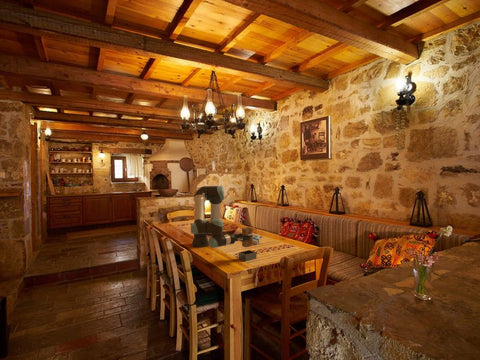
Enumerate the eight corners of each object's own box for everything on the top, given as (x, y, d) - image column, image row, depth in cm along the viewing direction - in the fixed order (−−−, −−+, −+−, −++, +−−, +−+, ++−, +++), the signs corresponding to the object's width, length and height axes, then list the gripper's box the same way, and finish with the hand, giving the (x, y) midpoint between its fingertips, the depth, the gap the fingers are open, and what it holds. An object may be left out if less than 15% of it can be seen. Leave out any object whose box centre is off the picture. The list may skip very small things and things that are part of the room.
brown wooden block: (245, 247, 200) (245, 229, 200) (242, 246, 204) (241, 228, 203) (252, 245, 204) (252, 227, 204) (249, 244, 208) (248, 226, 208)
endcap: (245, 261, 198) (245, 255, 198) (238, 258, 204) (238, 252, 204) (256, 258, 205) (256, 252, 204) (249, 255, 211) (249, 249, 211)
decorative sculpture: (251, 242, 239) (234, 235, 264) (251, 246, 239) (234, 239, 264) (274, 238, 254) (255, 232, 279) (274, 241, 254) (255, 235, 279)
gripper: (221, 242, 200) (245, 237, 214) (235, 247, 186) (260, 241, 200) (221, 232, 200) (245, 228, 214) (235, 236, 186) (260, 231, 200)
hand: (252, 234), depth 207 cm, fingers closed on brown wooden block, 4 cm apart
